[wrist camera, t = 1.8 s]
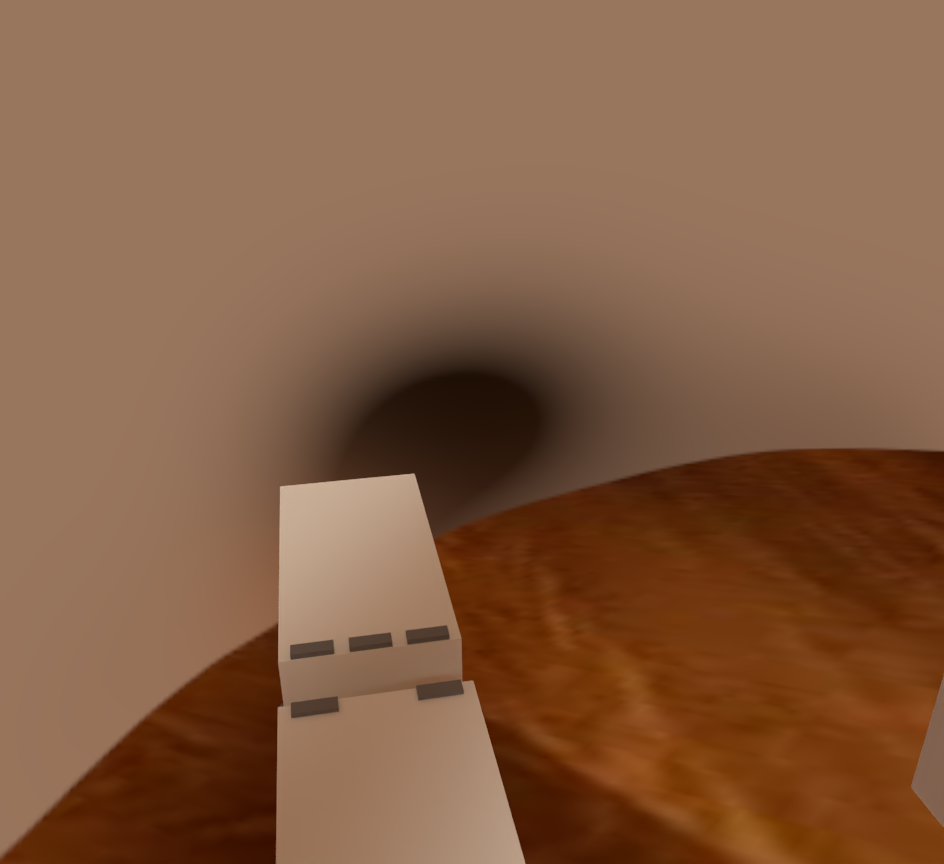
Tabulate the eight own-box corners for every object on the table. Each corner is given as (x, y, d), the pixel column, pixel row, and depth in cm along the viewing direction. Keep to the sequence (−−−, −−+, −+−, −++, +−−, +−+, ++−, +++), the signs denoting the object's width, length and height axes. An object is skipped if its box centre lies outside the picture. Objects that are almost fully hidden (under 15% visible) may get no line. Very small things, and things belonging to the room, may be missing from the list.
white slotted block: (423, 680, 45) (415, 469, 40) (466, 885, 34) (463, 633, 29) (301, 696, 44) (276, 483, 39) (306, 913, 33) (272, 658, 28)
